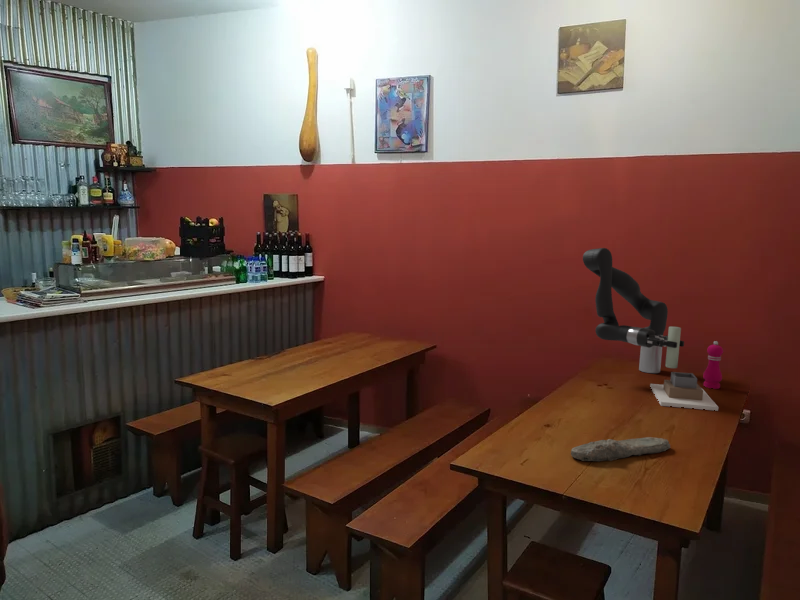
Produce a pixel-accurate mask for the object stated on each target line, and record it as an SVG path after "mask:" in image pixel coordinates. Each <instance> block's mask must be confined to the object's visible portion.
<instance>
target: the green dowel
mask: <svg viewBox="0 0 800 600" xmlns="http://www.w3.org/2000/svg"><path fill="white" fill-rule="evenodd" d="M681 332H682V327H679V326H668V331H667V336H668V341H672V342H677V348H672V347H668V346H667V347H666V354H665V355H666V356H665V367H666V368H668V369H678V364H679V354H680V346H679V345H680V341H681V335H682V334H681Z"/></svg>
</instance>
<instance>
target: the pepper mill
mask: <svg viewBox="0 0 800 600" xmlns="http://www.w3.org/2000/svg"><path fill="white" fill-rule="evenodd" d="M706 353H707V354H708V355H707V359H708V364H707V367H706V369H705V370H704V371H703V374H702V375H703V377H702V378H703V380H704V381H703V387H704V386H705V388H707V387H708V388H707V389H711V388H713V389H712V390H715V389H716V390H717V389H720V388H721V383H720V382H721V381H722V380H723V374H722V372H721V368H720V361H721V360H722V355H723V353H724V349H723V347H722V346H721V345H719V342H718V341H717V340H716V341H715V340H714V341H713V344H710V345H709V346H708V347H707V350H706Z"/></svg>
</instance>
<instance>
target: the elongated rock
mask: <svg viewBox="0 0 800 600" xmlns="http://www.w3.org/2000/svg"><path fill="white" fill-rule="evenodd" d="M669 449H671V444H670V441H669V440H668V439H666V438H661V437H652V436H646V437H639V438H638V437H637V438H628V439H622V440H620V439H619V440H617V439H616V440H615V439H609V438H608V439H606V440H605V439H600V440H596V441H590V442H588V443H584V444H581V445H577V446H575V447H572V448H571V451H570V455H571V457H572V458H574V459H577V460H580V461H581V462H599V463H600V462H603V461H610V462H612V461H616V460H617V459H624V458H628V457H630V456H642V455H646V454H659V453H661V452H666V451H667V450H669Z"/></svg>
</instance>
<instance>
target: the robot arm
mask: <svg viewBox="0 0 800 600" xmlns="http://www.w3.org/2000/svg"><path fill="white" fill-rule="evenodd" d="M582 263H583V264H584V266H585V267H586V268H587V269H588V270H589V271H590V272H592V273H593V274H595V275H596V276H598V277H599V278H600V279H599V284H598V287H597V291H596V294H595V299H594V300H595V309H596V315H597V317H598V318H602V319H603V322H601V323H599V324H598V325H597V326H596V327H595V330H594V331H595V335H596V336H597V337H598V338H600V339H601V340H605V341H618V342H624V343H628V344H632V345H635V346H638V347H639V346H640V351H639V352H640V353H639V354H640V355H639V365H638V371H641V372H642V373H648V374H659V373H661V365H662V355H663V347H664V348H665V347H666V348H667V346H668V347H672V348H677V342H672V341H668V334H667V335H664V334H665V333H664V332H665V330H666V328H667V321H668V315H669V312H668V305H667V304H666V303H665V302H662V301H659V300H652V299H650V298H648V297H647V296H645V295H644V294H643V293H642V292H641V288H640V285H639V283H638V281H637V280H635V279H634V278H633V276H631V275H630V274H628V273H627V272H625V271H623V270H621V269H618V268H616V267H614V266H613V255H612V252H611V251H610V250H609V249H608V248H606V247H599V248H592V249H591V248H590V249H588V250H586V251H585V252H584V253H583V254H582ZM612 289H613V290H614V291H615V292H616V293H617V294H618V295H620V297H622V298H623V299H624V300H626V301H627V303H629V304H630V305H631V306H632V307H633V308H634V309H635V310H636V312H638V314H639V315H640V317H641V318H643V319H644V320H647V321H649V322H650V323H649V326H645V327H638V326H631V325H626V324H622V325H619V322H618V318H617V316H616V314H615V311H614V303H613V295H612V294H613V293H612V292H613V291H612ZM684 346H685V341H683V340H680V345H679V347H682V348H683V347H684Z"/></svg>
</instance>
